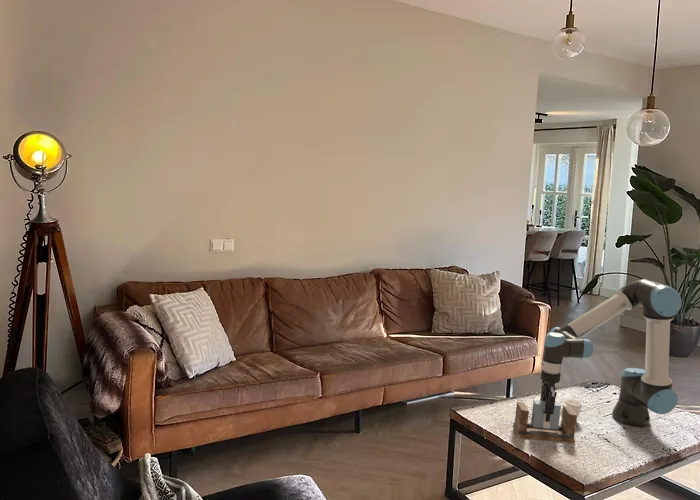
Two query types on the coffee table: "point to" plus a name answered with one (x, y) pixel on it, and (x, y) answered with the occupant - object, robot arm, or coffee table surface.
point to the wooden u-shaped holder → (561, 434)
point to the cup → (573, 406)
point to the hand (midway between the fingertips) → (544, 425)
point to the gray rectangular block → (539, 415)
